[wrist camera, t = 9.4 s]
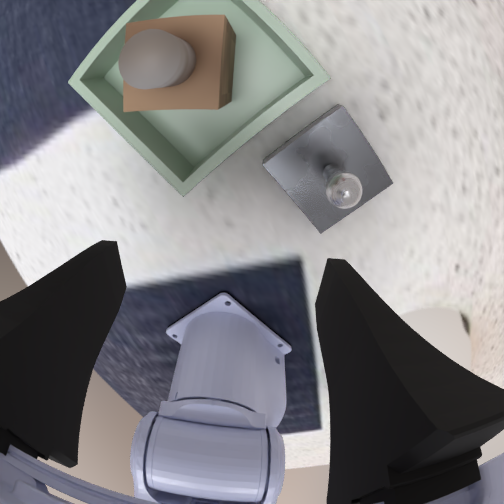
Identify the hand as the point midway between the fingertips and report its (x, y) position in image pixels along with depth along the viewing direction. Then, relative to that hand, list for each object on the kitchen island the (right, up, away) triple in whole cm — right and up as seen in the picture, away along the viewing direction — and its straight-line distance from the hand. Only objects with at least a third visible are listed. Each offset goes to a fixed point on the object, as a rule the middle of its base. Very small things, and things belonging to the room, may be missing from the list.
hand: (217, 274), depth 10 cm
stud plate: (+6, +6, +8) cm, 12 cm away
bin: (-2, +12, +5) cm, 13 cm away
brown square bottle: (-2, +11, +4) cm, 12 cm away
